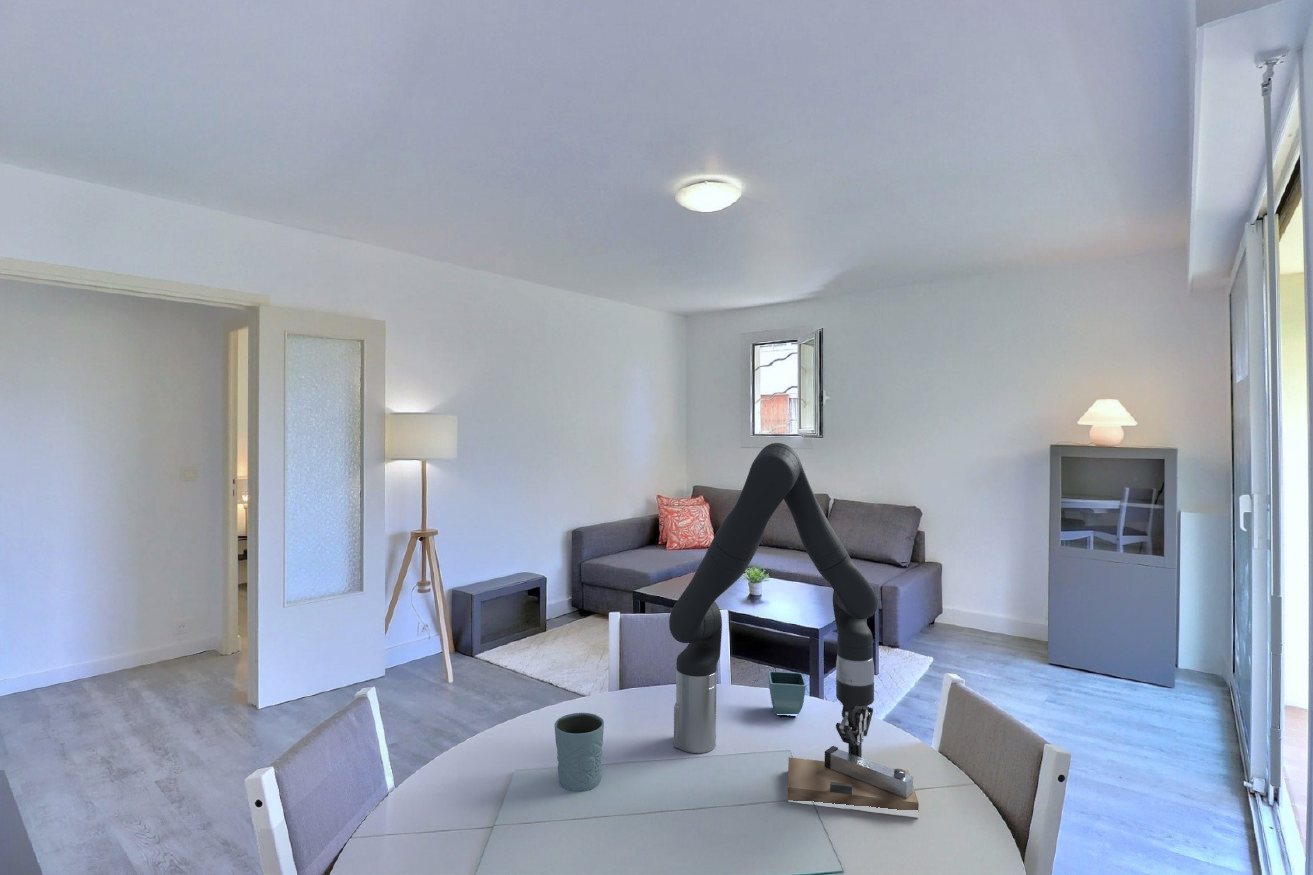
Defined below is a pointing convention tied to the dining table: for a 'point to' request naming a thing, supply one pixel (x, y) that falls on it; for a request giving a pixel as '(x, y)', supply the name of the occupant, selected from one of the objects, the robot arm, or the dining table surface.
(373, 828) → the dining table surface
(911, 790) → the hinged leg
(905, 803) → the wooden board with bar
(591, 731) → the embossed green cup
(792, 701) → the flower pot
